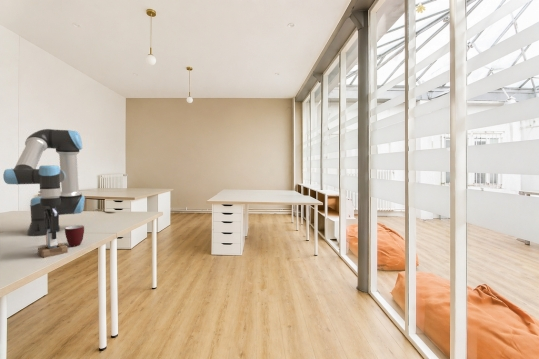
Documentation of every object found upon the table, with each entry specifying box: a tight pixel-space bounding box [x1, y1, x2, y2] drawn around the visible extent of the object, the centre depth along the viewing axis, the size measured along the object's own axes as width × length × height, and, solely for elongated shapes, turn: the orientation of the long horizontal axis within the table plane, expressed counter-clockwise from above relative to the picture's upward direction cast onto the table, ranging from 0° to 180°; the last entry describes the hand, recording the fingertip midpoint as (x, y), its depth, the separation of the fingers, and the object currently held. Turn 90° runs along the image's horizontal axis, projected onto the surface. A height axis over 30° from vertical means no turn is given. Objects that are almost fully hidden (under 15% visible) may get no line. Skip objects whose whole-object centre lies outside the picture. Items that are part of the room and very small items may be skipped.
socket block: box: [37, 242, 69, 258], centre depth 122 cm, size 9×9×3 cm
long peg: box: [47, 229, 57, 249], centre depth 122 cm, size 3×3×12 cm
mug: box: [64, 224, 85, 247], centre depth 135 cm, size 10×8×10 cm
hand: (52, 244), depth 122 cm, fingers closed on long peg, 3 cm apart
